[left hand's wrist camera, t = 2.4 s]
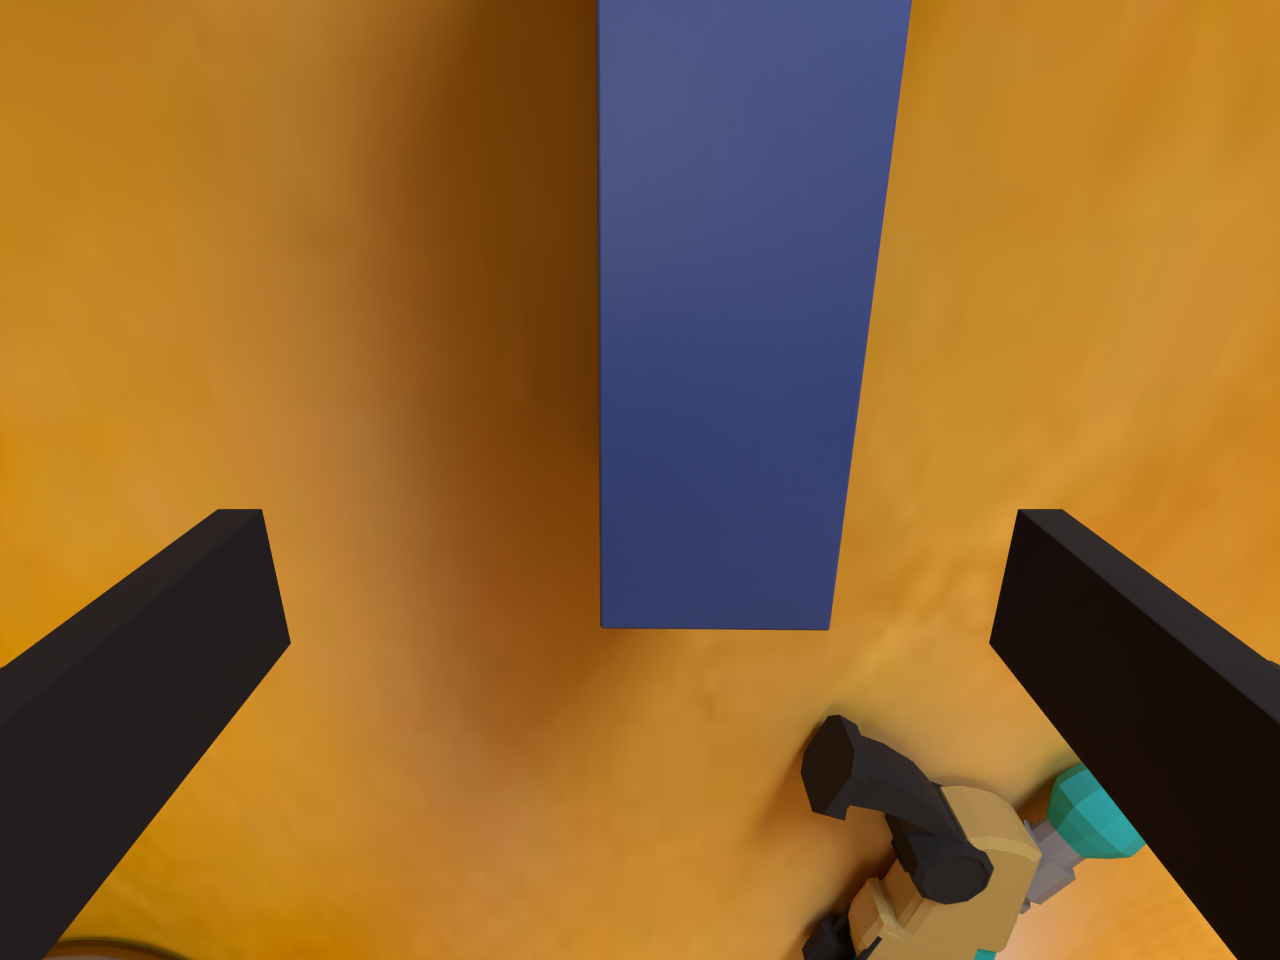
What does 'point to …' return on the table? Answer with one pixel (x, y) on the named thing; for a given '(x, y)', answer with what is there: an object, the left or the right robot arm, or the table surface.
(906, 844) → the toy gun
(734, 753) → the table surface
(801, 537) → the box
